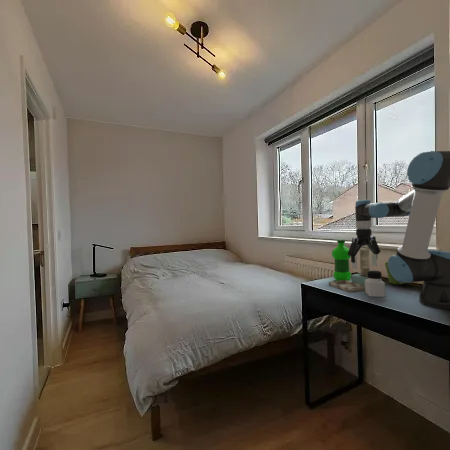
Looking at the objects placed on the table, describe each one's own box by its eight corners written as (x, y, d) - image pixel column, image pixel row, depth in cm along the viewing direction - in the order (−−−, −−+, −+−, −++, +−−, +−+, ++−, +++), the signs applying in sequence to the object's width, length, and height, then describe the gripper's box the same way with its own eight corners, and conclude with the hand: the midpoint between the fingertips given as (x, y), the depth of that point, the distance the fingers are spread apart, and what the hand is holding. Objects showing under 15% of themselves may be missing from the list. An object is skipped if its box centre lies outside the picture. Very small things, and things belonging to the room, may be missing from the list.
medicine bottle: (385, 297, 130) (385, 272, 129) (369, 297, 131) (368, 272, 131) (380, 293, 137) (379, 269, 136) (364, 293, 138) (364, 269, 138)
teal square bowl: (379, 287, 147) (379, 276, 146) (365, 289, 144) (365, 278, 144) (365, 283, 156) (365, 272, 156) (351, 285, 153) (351, 274, 153)
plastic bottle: (332, 283, 160) (330, 240, 159) (334, 278, 169) (333, 238, 168) (350, 284, 155) (349, 240, 154) (352, 280, 164) (351, 238, 163)
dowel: (371, 285, 148) (370, 249, 148) (365, 286, 147) (364, 250, 146) (365, 284, 152) (364, 248, 152) (359, 285, 151) (357, 249, 150)
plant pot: (414, 285, 147) (414, 264, 146) (392, 286, 147) (391, 265, 146) (400, 280, 158) (400, 261, 158) (380, 281, 159) (379, 262, 158)
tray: (366, 290, 143) (366, 286, 142) (349, 293, 139) (349, 288, 139) (344, 283, 158) (344, 279, 158) (328, 285, 154) (328, 281, 154)
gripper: (375, 226, 156) (376, 263, 157) (339, 229, 148) (341, 268, 149) (387, 227, 149) (388, 265, 150) (350, 230, 141) (351, 270, 142)
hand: (364, 267), depth 150 cm, fingers open, 13 cm apart
